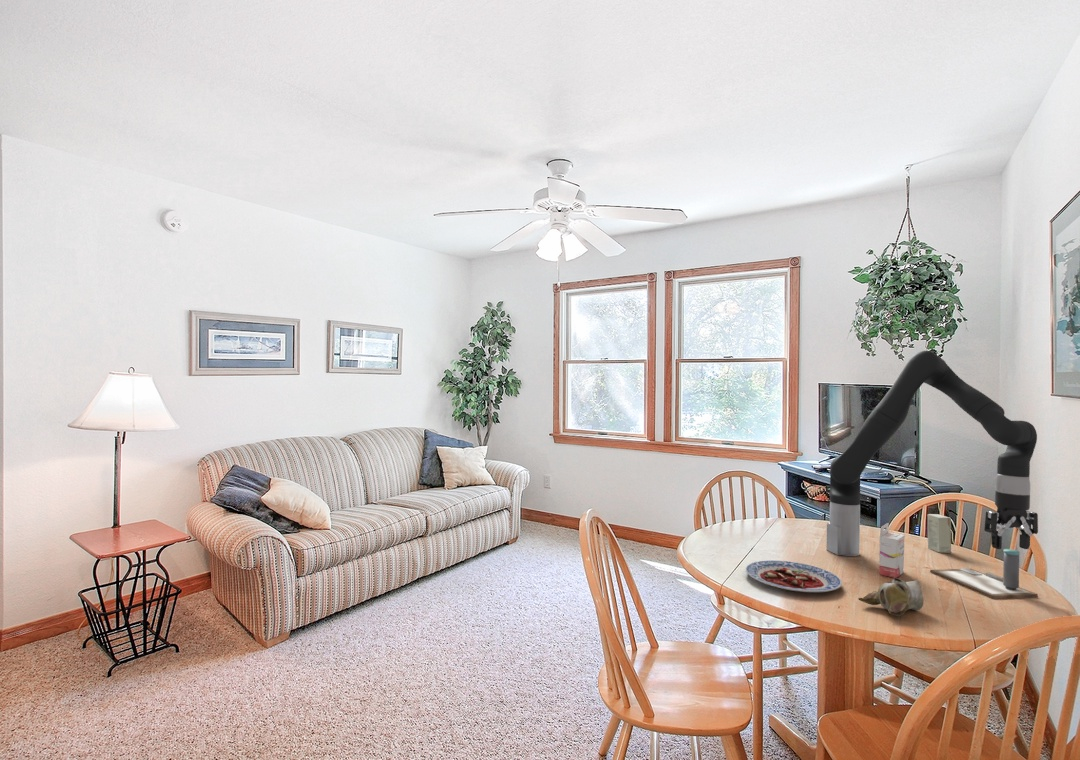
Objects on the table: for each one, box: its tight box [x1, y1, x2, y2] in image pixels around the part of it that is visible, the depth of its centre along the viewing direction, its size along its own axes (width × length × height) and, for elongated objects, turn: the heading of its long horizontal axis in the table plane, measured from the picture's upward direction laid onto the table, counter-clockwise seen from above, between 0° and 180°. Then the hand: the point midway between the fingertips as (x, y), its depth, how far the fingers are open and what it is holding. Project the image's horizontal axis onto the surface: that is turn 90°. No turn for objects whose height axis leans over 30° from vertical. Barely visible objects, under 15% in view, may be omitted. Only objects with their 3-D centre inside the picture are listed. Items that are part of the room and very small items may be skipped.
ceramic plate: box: [745, 560, 843, 593], centre depth 165 cm, size 26×26×3 cm
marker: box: [1002, 548, 1021, 590], centre depth 158 cm, size 4×4×11 cm
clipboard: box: [929, 568, 1039, 599], centre depth 165 cm, size 14×21×2 cm, turn 7°
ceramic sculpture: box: [857, 577, 925, 617], centre depth 144 cm, size 11×9×15 cm
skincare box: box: [927, 513, 952, 554], centre depth 198 cm, size 6×4×12 cm
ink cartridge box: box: [878, 522, 906, 579], centre depth 173 cm, size 9×5×15 cm, turn 134°
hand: (1010, 548), depth 158 cm, fingers open, 8 cm apart
